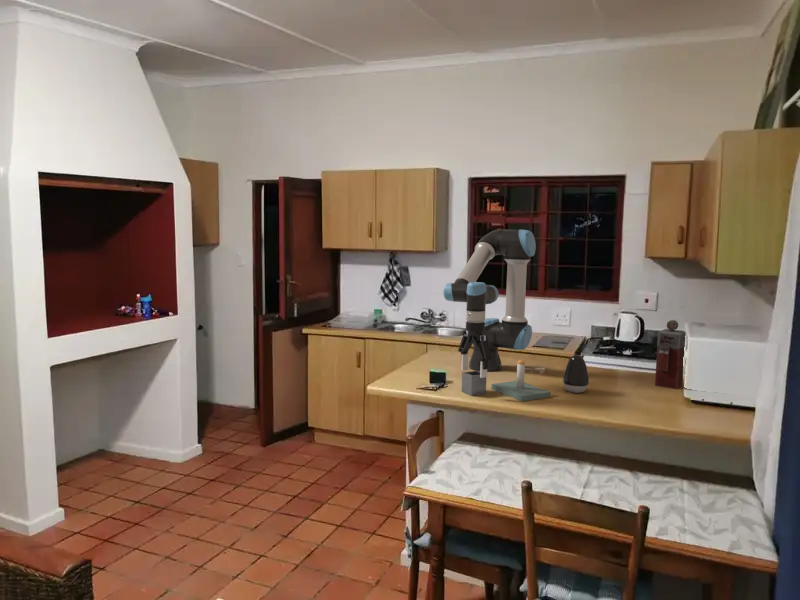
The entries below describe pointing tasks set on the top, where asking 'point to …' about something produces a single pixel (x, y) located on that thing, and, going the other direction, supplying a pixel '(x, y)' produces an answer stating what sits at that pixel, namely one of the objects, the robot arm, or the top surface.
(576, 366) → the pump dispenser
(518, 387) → the keeper
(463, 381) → the grey square sleeve
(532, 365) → the top surface
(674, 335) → the toy vending machine
